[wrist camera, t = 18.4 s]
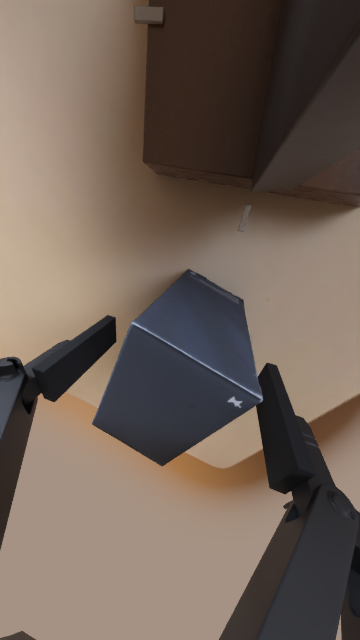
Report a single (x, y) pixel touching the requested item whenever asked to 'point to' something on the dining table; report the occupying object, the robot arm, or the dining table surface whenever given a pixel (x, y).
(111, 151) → the dining table surface
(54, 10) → the dining table surface
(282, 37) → the frame
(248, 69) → the frame stand
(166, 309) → the small box
